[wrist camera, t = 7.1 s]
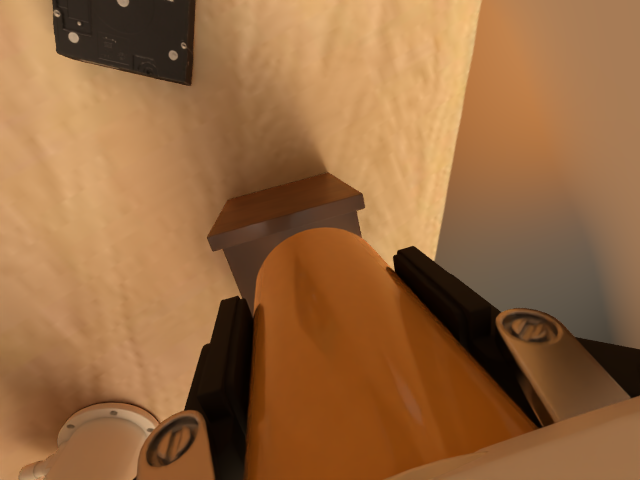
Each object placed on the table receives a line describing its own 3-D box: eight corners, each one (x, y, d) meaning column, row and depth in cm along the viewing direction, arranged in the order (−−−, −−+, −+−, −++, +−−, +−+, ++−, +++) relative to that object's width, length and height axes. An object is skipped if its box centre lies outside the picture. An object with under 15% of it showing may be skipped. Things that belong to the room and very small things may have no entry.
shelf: (271, 320, 40) (274, 402, 28) (227, 199, 34) (206, 237, 22) (355, 294, 41) (394, 362, 29) (328, 172, 34) (362, 193, 22)
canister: (273, 360, 13) (299, 1065, 3) (231, 245, 11) (-74, 1271, 1) (394, 323, 13) (742, 840, 4) (376, 206, 11) (1079, 680, 2)
